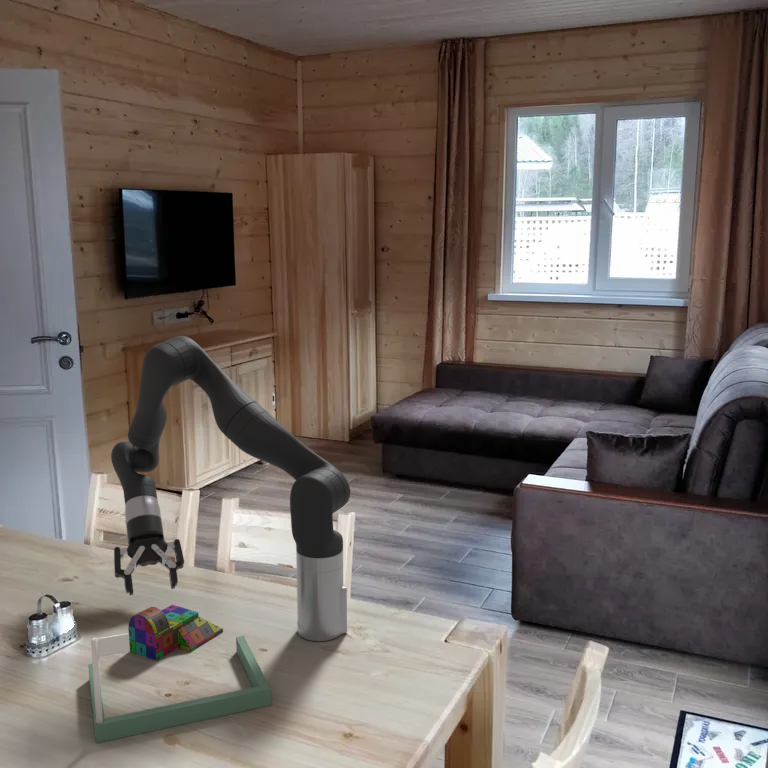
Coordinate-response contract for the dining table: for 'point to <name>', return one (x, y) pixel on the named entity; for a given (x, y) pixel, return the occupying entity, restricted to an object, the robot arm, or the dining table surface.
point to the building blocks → (168, 631)
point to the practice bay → (174, 712)
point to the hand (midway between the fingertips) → (152, 590)
